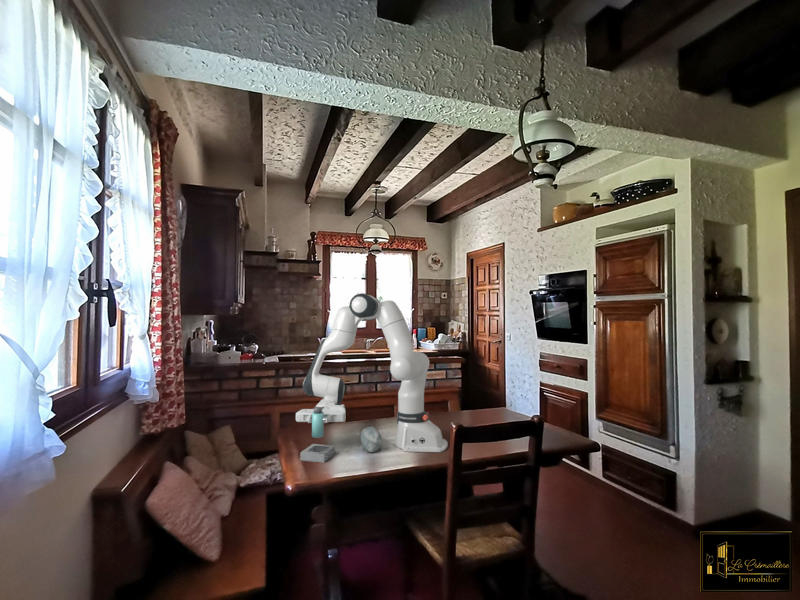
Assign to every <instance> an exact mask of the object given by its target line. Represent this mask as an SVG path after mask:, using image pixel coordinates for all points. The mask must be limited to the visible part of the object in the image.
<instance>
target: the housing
mask: <svg viewBox="0 0 800 600" xmlns="http://www.w3.org/2000/svg"><path fill="white" fill-rule="evenodd" d="M299 455H300V457H299V460H300V461H302V462H303V461H304V462H315V463H326V462H327V461H328V460H329V459H331V458H332V457H333V456H334V455H336V445H332V444H331V445H330V444H319V443H312V444H310V445H309V446H307V447H306V448H305V449H303V450H302V451H301V452H300V454H299Z"/></svg>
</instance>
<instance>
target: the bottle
mask: <svg viewBox="0 0 800 600" xmlns="http://www.w3.org/2000/svg"><path fill="white" fill-rule="evenodd" d="M313 409H314V412H313V413H312V423H311V437H312V438H322V437H325V435H324V429H325V428H324V425H325V423H323V418H324V412H322V407H316V406H314V407H313Z"/></svg>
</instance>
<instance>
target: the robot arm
mask: <svg viewBox="0 0 800 600" xmlns="http://www.w3.org/2000/svg"><path fill="white" fill-rule="evenodd" d="M373 320H376V321H378V324H379V326H380V329H381V330H382V333H383V335H384V338H385V340H386V344H387V346H388V349H389V350H388V351H389V356H390V365H389V366H390V367H389V371H390V373H391V375H392V377H393V378H394V379H396V380H397V381H401V383H400V387H399V389H398V393H397V399H398V400H397V409H398V410H397V412H396V423H397V424H396V425H397V431H396V436H395V440H394V446H395V447H397V448H399V449H401V450H402V451H403V452H406V453H407V452H410V453H412V452H415V453H417V452H419V453H443V452H444V451H445V450H447V448H448V446H449V445H448V441H447V440H446V439H445V438H443V433H442V430H441V429H440V428H439V427H438V426H437V425H436V424H434V423H433V422H432V421H431V420H429V419H430V414H429V412H430V411H428V412H427V411H426V410H425V407H424V406H425V387H426V381H427V374H428V370H429V367H430V359H429V357H428V356H427V354H425V353H424V352H422V351H414V348H413V343H412V337H413V336H412V333H411V330H410V328H409V326H408V324H407V322H406V319H405V317H404V315H403V313H402V310H401V309H400V307H399V306H398V305H397V303H396V302H395V301H393V300H384V301H380V300H379V299H378V298H377V297H374V296H373V295H370V294H367V293H363V292H361V293H356V294H355V295H354V296H352V297H351V299H350V301H349V306H342V307H340V308H339V309H338V310H337V312H336V315H335V318H334V321H333V322H332V323H333V324H332V328H331V332H330V334H328V336H327V337H326V338H323V339H322V341H321V342H320V344H319V346H318V348H317V350H316V352H315V354H314V355H315V356H314V357H313V360H312V362H311V365H310V367H309V370H308V372H307V374H306V376H305V378H304V380H303V382H302V390H303V391H304V393H305V394H306V395H307V396H309V397H320V398H322V399H321V400H320V401H319V402H318V403H317V404H316V405H315V407H322V412H324V418H323V423H324V424H328V423H344V422H346V413H347V411H346V408H345V407H346V406H345V404H342V403H341V402H343V399H344V397H345V393H346V384H345V382H344V380H343V379H342V378H340V377H336V376H329V375H325V374H321V373H320V369H321V367H322V364H323V362H324V359H325V358H326V356H327V355H328V354H330V353H334V352H341V351H344V350H347V349H349V348H350V347H352V346H353V344H354V342H355V339H356V336H357V330H358V326H359V324H360V322H361V321H362V322H367V321H368V322H369V321H373ZM313 412H314V408H301V409H300V410H298V411H297V412H295V421H296V422H297V423H305V422H306V423H307V424H312V413H313Z"/></svg>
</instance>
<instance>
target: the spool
mask: <svg viewBox="0 0 800 600" xmlns="http://www.w3.org/2000/svg"><path fill="white" fill-rule="evenodd" d="M359 438H360V442H361V445H362V447H363V449H364V450H365V451H366V452H368V453H371V454H372V453H375V452H376V451H378V450H379V449H380V448H381V447H382V445H383V438H382V435H381V433H380V431H379V430H377V429H376V427H374V426H367V427H365V428H363V429H362V430H361V432H360V436H359Z"/></svg>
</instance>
